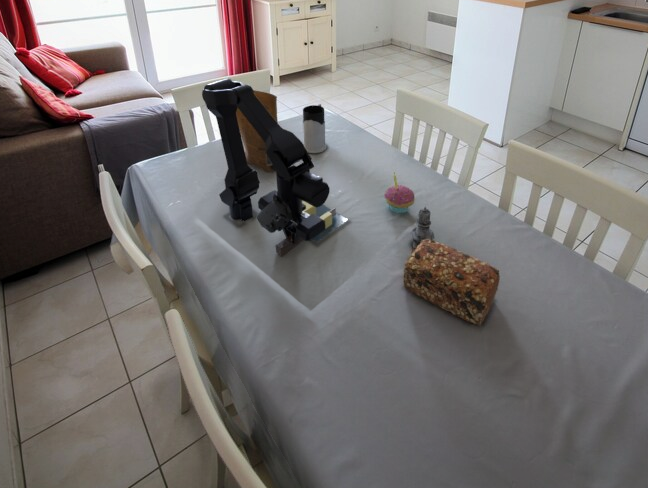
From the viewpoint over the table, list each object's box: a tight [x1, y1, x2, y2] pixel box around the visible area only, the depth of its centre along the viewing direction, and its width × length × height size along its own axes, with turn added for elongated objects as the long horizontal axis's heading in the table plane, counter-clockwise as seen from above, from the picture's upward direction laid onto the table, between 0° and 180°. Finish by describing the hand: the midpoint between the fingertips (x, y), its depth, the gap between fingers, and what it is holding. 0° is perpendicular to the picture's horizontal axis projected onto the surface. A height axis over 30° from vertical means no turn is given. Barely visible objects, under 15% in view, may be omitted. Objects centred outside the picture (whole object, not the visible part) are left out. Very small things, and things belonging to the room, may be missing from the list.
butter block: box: [302, 200, 316, 215], centre depth 119 cm, size 8×5×4 cm, turn 49°
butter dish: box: [311, 204, 349, 243], centre depth 119 cm, size 18×12×1 cm, turn 49°
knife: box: [275, 207, 337, 257], centre depth 111 cm, size 2×20×2 cm, turn 139°
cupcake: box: [384, 172, 416, 214], centre depth 121 cm, size 9×8×12 cm
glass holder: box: [302, 103, 328, 154], centre depth 156 cm, size 9×14×15 cm, turn 170°
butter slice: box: [320, 212, 332, 229], centre depth 114 cm, size 2×5×4 cm, turn 140°
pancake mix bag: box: [236, 89, 279, 173], centre depth 139 cm, size 7×19×28 cm, turn 58°
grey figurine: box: [410, 206, 435, 250], centre depth 108 cm, size 6×6×12 cm
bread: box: [403, 239, 501, 327], centre depth 94 cm, size 19×11×10 cm, turn 54°
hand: (292, 241), depth 107 cm, fingers closed on knife, 2 cm apart
